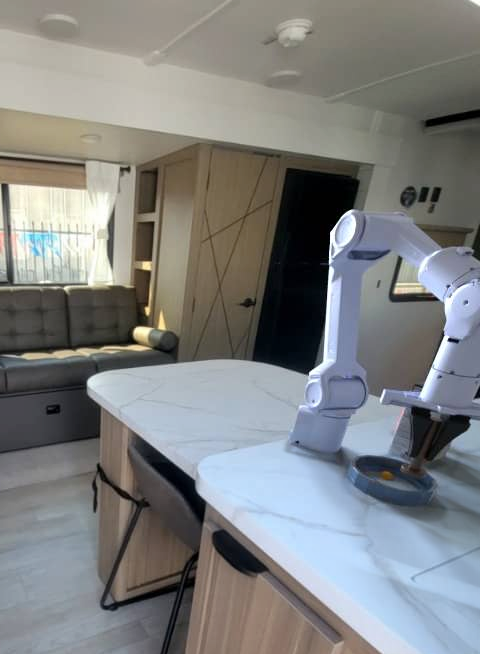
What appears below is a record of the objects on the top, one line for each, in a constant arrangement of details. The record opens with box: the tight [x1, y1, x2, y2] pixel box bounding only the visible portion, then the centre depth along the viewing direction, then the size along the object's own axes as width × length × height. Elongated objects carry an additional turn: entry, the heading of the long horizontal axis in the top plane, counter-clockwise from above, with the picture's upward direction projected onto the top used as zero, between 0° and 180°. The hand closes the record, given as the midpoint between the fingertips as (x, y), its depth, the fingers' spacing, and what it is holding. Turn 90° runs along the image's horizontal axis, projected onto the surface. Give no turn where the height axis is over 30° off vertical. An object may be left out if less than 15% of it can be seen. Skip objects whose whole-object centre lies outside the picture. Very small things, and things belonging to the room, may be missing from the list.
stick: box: [400, 417, 443, 478], centre depth 61 cm, size 3×3×9 cm
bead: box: [379, 471, 394, 481], centre depth 72 cm, size 2×2×2 cm
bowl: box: [346, 454, 439, 508], centre depth 70 cm, size 12×12×4 cm
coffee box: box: [387, 380, 453, 466], centre depth 78 cm, size 9×6×16 cm
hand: (419, 456), depth 62 cm, fingers closed on stick
